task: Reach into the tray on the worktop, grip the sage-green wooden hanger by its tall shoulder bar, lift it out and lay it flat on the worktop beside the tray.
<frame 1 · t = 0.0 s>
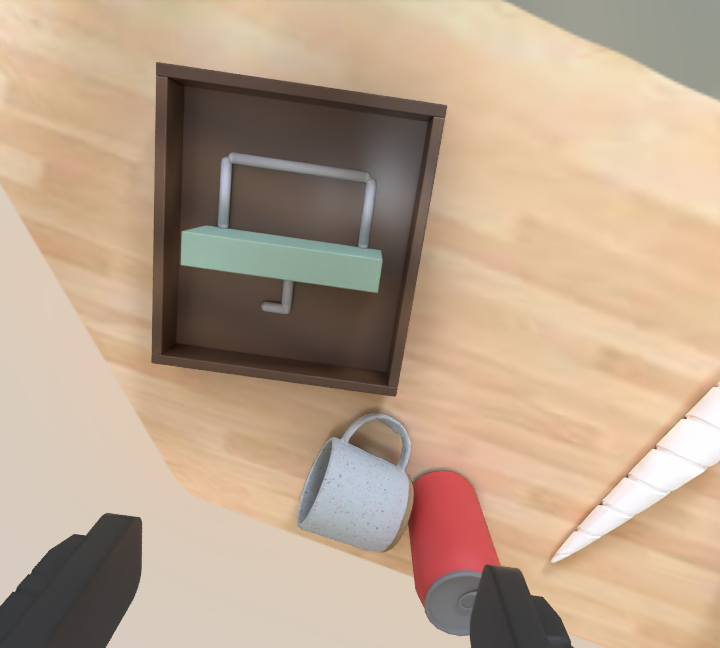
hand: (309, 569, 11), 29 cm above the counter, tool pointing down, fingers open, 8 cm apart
ceramic mug: (360, 457, 44), on the counter
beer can: (440, 496, 45), on the counter
hanger: (292, 252, 38), point 1 cm above the counter, touching tray
tray: (294, 239, 38), on the counter
unicorn horn: (646, 466, 43), on the counter
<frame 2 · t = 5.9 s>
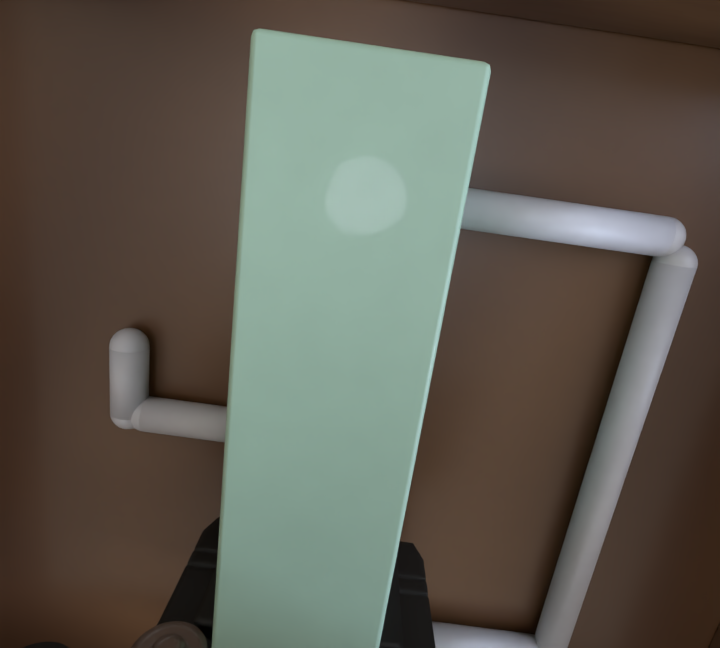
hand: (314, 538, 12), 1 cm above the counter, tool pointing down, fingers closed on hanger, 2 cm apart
hanger: (329, 429, 11), point 1 cm above the counter, touching tray, gripper
tray: (371, 423, 12), on the counter
when the fingers open (0 cm above the counter, at t = 13.3 s): hanger stays where it is, on the counter.
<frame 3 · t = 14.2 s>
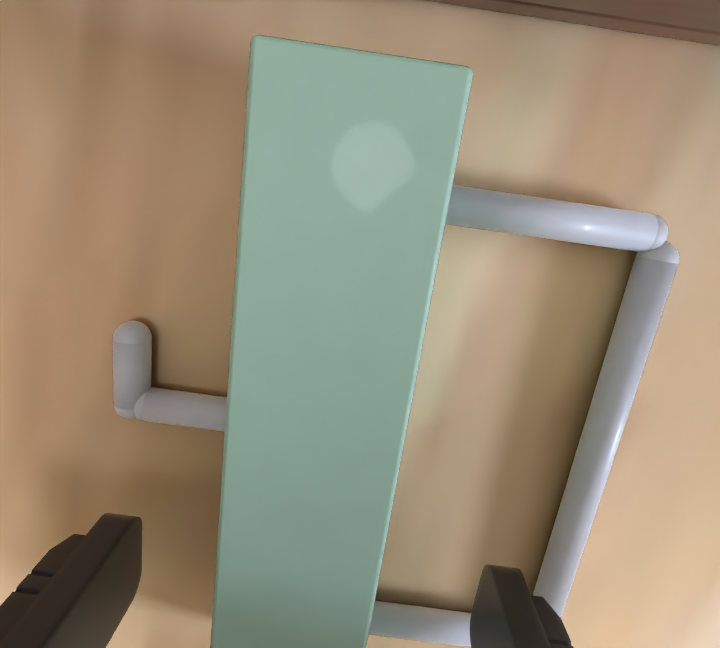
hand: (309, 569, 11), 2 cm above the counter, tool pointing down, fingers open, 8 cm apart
hanger: (326, 419, 12), on the counter
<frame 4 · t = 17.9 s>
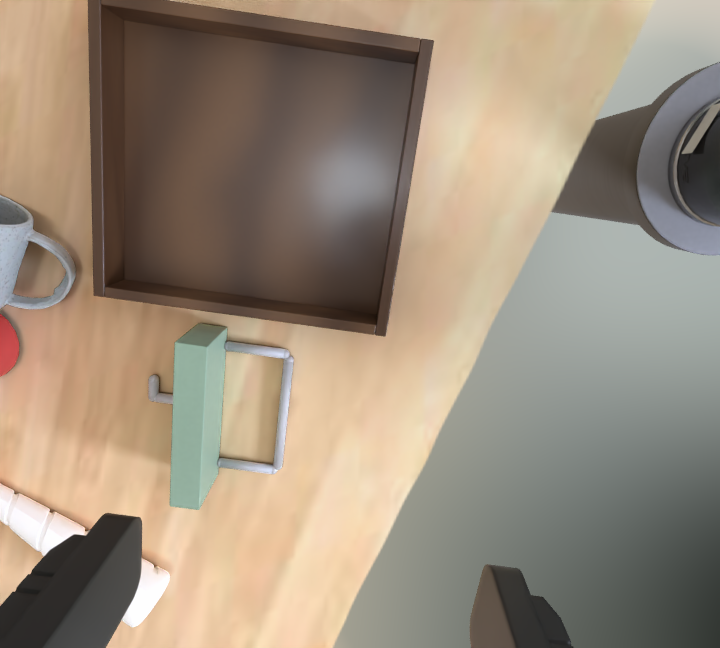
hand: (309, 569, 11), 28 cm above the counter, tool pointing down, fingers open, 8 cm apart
ceramic mug: (16, 248, 38), on the counter
hanger: (208, 402, 41), on the counter
tray: (261, 178, 36), on the counter
unicorn horn: (66, 525, 45), on the counter
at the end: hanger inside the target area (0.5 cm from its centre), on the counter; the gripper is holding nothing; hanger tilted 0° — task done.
